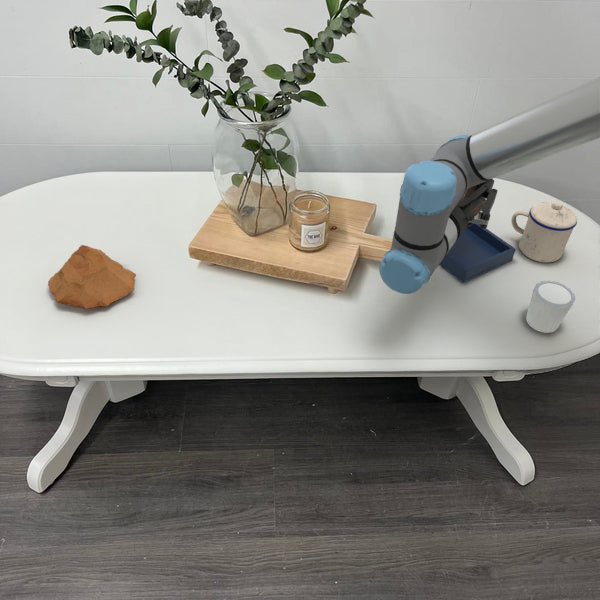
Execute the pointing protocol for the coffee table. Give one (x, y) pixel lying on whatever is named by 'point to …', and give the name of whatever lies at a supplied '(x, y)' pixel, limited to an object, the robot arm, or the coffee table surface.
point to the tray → (476, 253)
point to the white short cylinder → (549, 306)
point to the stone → (91, 280)
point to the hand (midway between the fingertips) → (484, 171)
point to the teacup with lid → (545, 230)
